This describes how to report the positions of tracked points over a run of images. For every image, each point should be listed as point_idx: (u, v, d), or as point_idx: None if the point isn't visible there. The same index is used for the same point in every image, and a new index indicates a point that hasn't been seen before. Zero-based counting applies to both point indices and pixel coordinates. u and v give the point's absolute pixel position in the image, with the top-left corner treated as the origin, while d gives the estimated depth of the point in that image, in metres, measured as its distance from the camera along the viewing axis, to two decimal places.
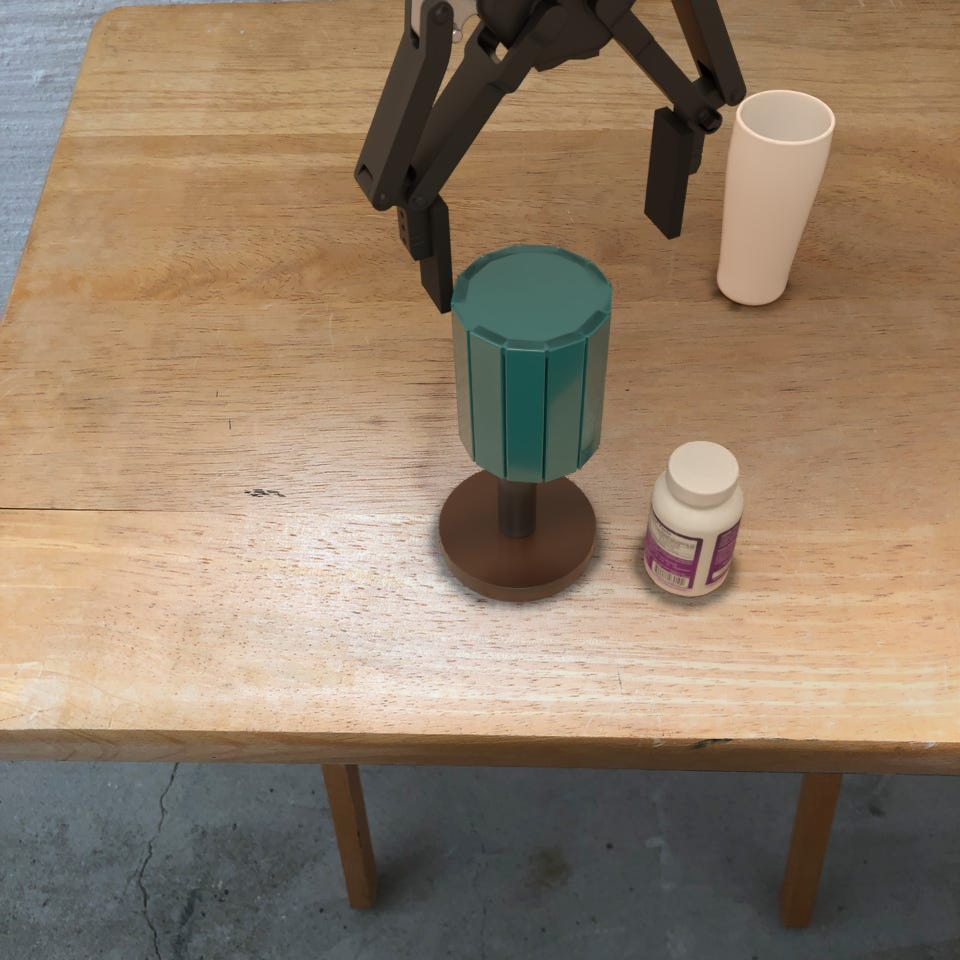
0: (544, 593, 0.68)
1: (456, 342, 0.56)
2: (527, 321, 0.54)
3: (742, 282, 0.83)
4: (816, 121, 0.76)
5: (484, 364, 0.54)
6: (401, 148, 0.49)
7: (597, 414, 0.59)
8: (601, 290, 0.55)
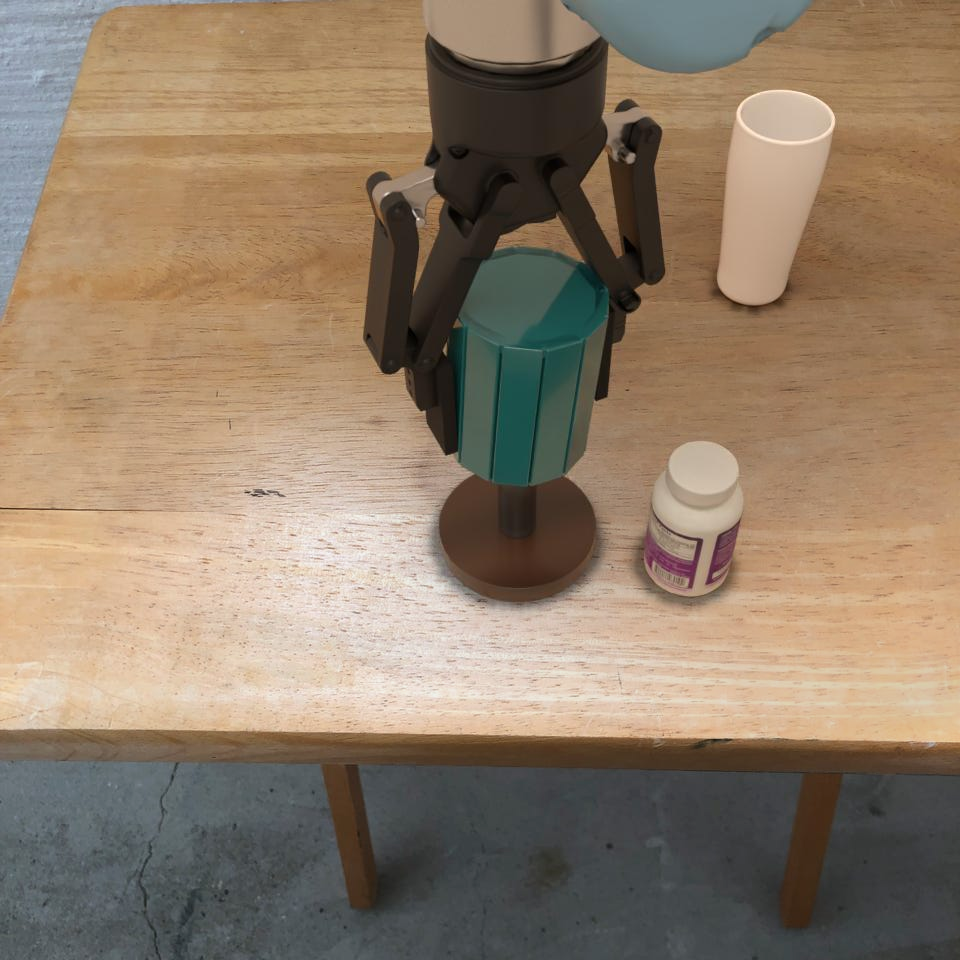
0: (544, 593, 0.68)
1: (450, 340, 0.56)
2: (525, 320, 0.54)
3: (742, 282, 0.83)
4: (816, 121, 0.76)
5: (479, 362, 0.54)
6: (395, 322, 0.51)
7: (586, 419, 0.59)
8: (598, 294, 0.55)
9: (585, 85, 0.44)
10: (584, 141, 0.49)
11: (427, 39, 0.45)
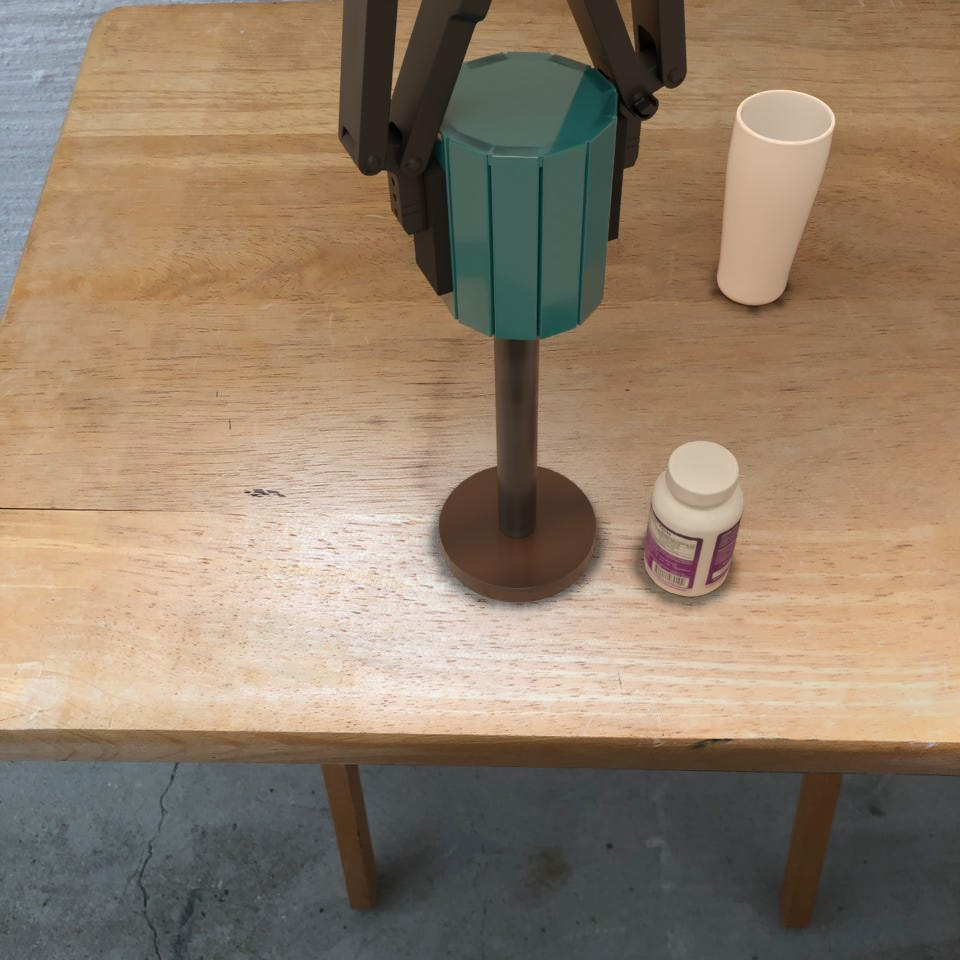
0: (544, 593, 0.68)
1: None
2: (517, 127, 0.45)
3: (742, 282, 0.83)
4: (816, 121, 0.76)
5: (466, 182, 0.46)
6: (374, 102, 0.43)
7: (600, 255, 0.50)
8: (604, 95, 0.46)
9: None
10: None
11: None
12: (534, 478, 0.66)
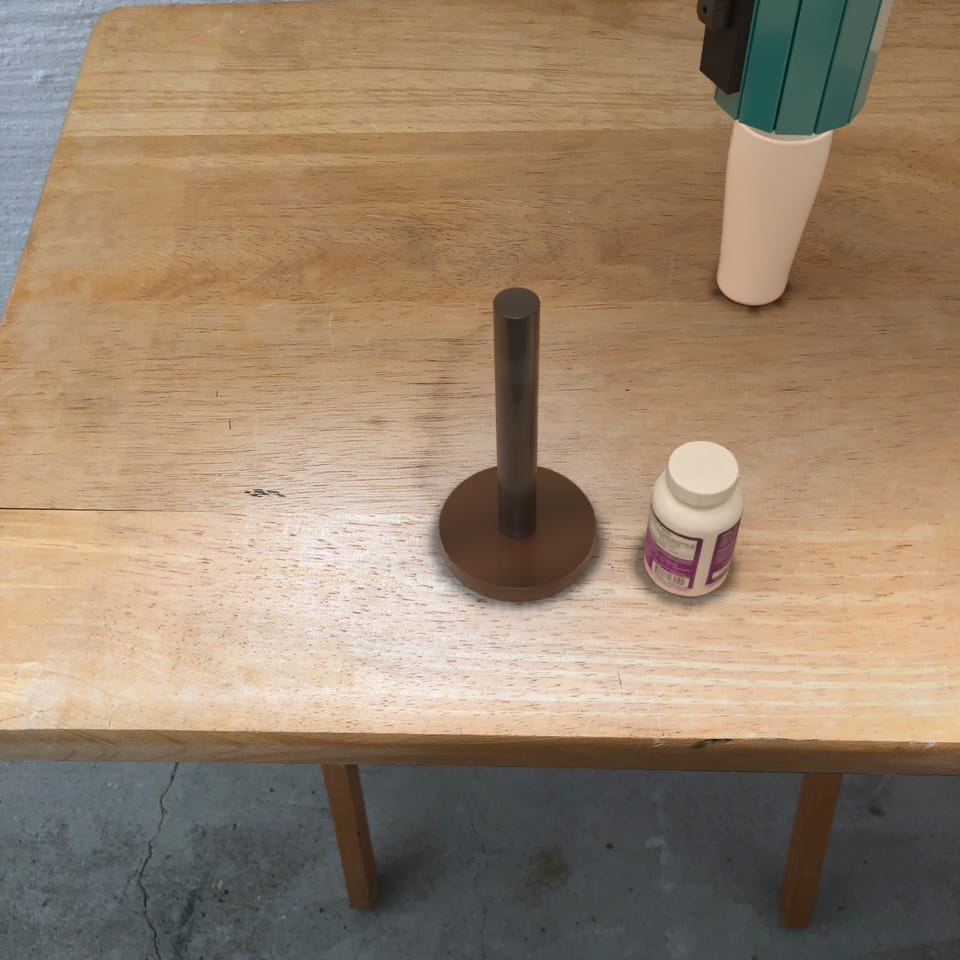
0: (544, 593, 0.68)
1: None
2: None
3: (742, 282, 0.83)
4: None
5: None
6: None
7: (875, 54, 0.56)
8: None
9: None
10: None
11: None
12: (534, 478, 0.66)
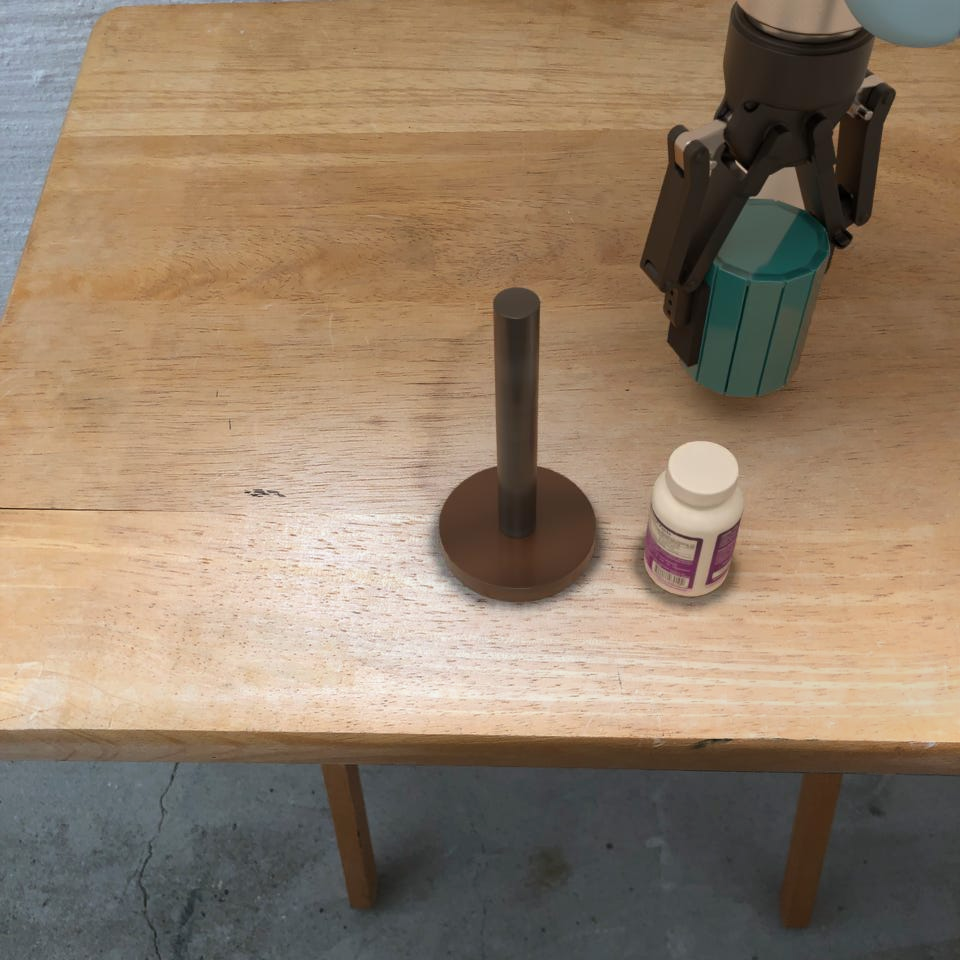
0: (544, 593, 0.68)
1: None
2: (764, 258, 0.66)
3: None
4: None
5: (727, 295, 0.67)
6: (678, 248, 0.64)
7: (804, 339, 0.71)
8: (819, 234, 0.68)
9: (864, 52, 0.56)
10: None
11: (732, 17, 0.57)
12: (534, 478, 0.66)
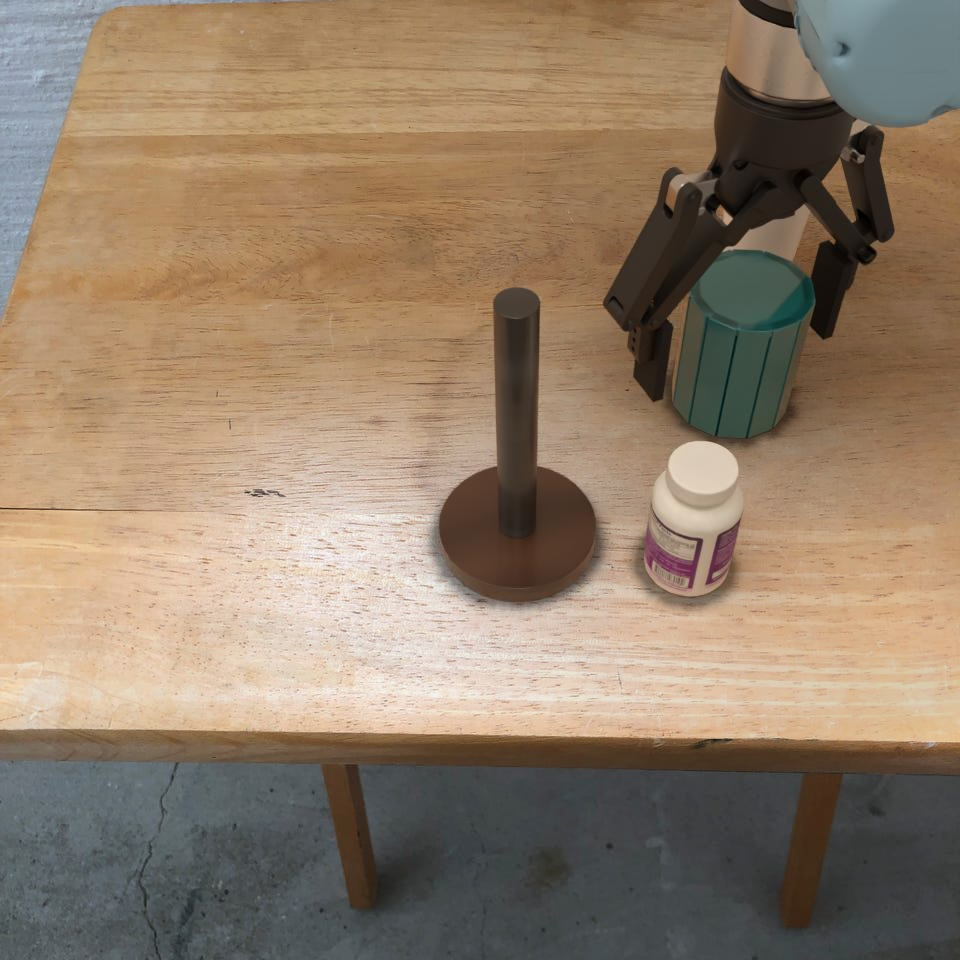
0: (544, 593, 0.68)
1: (689, 327, 0.72)
2: (752, 309, 0.70)
3: None
4: None
5: (717, 343, 0.70)
6: (649, 288, 0.65)
7: (791, 382, 0.75)
8: (804, 284, 0.71)
9: (848, 115, 0.59)
10: None
11: (722, 80, 0.60)
12: (534, 478, 0.66)
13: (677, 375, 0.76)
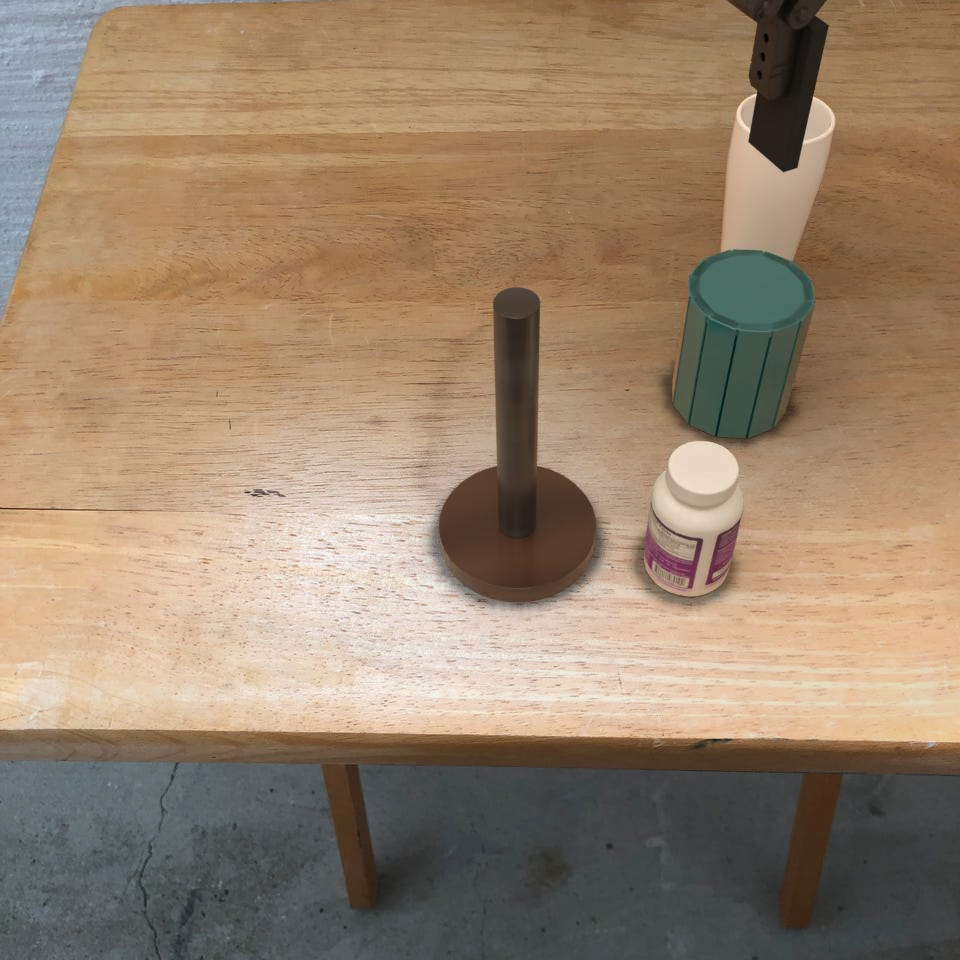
0: (544, 593, 0.68)
1: (689, 327, 0.72)
2: (752, 309, 0.70)
3: None
4: (816, 121, 0.76)
5: (717, 343, 0.70)
6: None
7: (791, 382, 0.75)
8: (804, 284, 0.71)
9: None
10: None
11: None
12: (534, 478, 0.66)
13: (677, 375, 0.76)
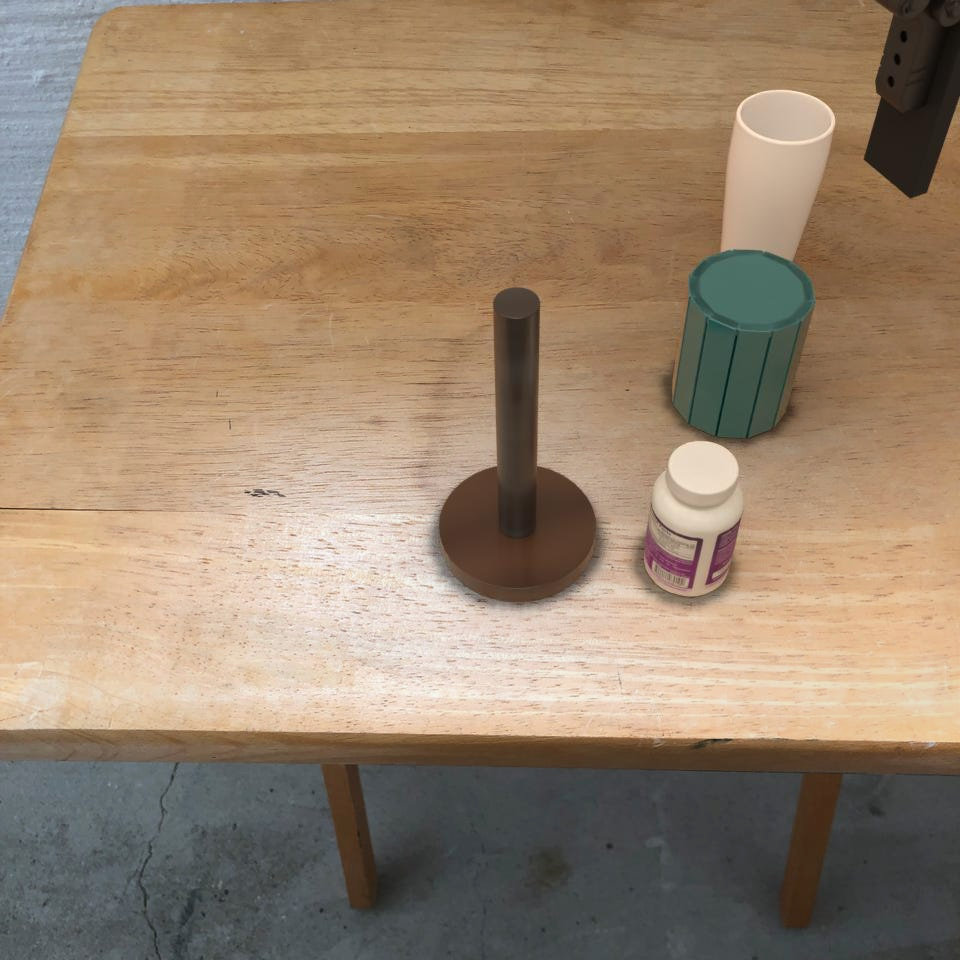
0: (544, 593, 0.68)
1: (689, 327, 0.72)
2: (752, 309, 0.70)
3: None
4: (816, 121, 0.76)
5: (717, 343, 0.70)
6: None
7: (791, 382, 0.75)
8: (804, 284, 0.71)
9: None
10: None
11: None
12: (534, 478, 0.66)
13: (677, 375, 0.76)
